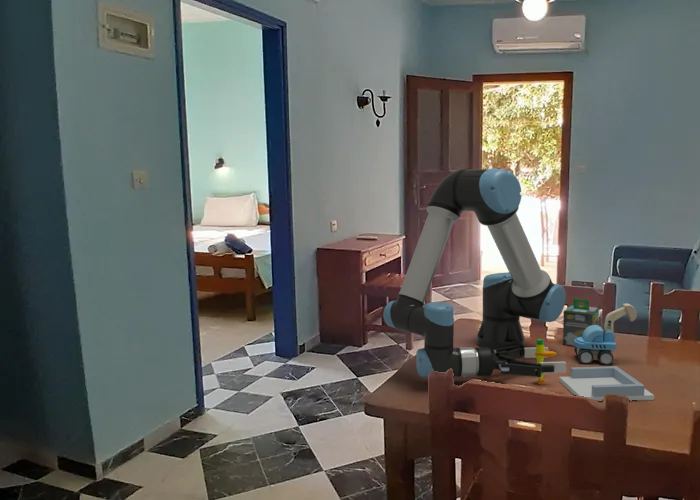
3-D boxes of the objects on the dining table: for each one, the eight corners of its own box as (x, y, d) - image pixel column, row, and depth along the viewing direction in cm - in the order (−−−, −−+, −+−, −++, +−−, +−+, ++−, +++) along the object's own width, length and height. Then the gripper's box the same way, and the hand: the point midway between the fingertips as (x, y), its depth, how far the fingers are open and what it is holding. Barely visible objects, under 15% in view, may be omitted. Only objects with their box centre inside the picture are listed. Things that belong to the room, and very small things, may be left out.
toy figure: (554, 381, 168) (556, 338, 166) (556, 386, 165) (557, 341, 163) (528, 380, 169) (529, 337, 168) (529, 385, 166) (530, 341, 164)
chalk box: (598, 342, 204) (600, 297, 202) (591, 349, 196) (593, 302, 194) (569, 338, 209) (570, 294, 207) (561, 345, 202) (563, 299, 200)
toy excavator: (637, 367, 179) (640, 308, 177) (576, 364, 182) (578, 306, 180) (630, 357, 187) (633, 301, 185) (571, 355, 191) (573, 300, 188)
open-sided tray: (581, 402, 154) (582, 387, 153) (559, 381, 169) (559, 367, 168) (653, 399, 154) (654, 385, 154) (625, 379, 169) (625, 365, 169)
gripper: (465, 361, 178) (540, 358, 179) (487, 391, 154) (573, 389, 155) (465, 335, 177) (541, 333, 178) (487, 362, 153) (574, 359, 154)
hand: (556, 359), depth 166 cm, fingers open, 12 cm apart
